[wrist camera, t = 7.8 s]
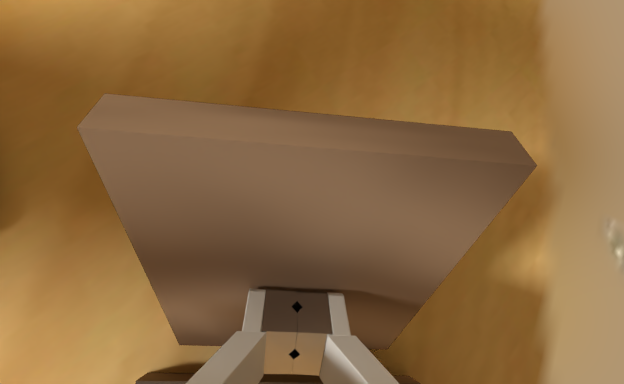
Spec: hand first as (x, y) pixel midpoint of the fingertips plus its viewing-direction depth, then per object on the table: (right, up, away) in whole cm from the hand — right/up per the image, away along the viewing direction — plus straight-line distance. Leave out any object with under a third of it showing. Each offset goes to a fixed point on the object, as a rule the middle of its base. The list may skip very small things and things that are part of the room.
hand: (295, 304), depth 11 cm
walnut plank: (0, +1, +1) cm, 2 cm away
